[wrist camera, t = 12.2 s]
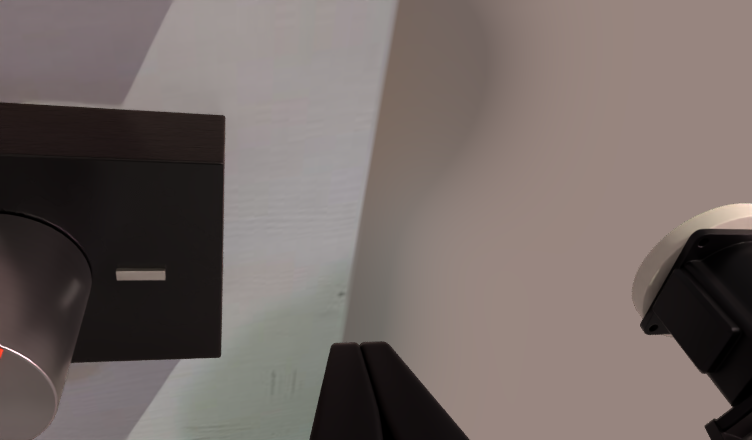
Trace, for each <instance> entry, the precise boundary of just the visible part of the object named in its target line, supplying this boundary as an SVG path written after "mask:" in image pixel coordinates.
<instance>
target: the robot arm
mask: <svg viewBox="0 0 752 440" xmlns="http://www.w3.org/2000/svg"><path fill="white" fill-rule="evenodd" d="M640 327H641V328H642V330H643V331H644V332H645V334H648V335H660V334H671V335H672V336H673V337H674V339H675V340H676V341H677V343H678V344H679V345H680V346H681V348H682V349H683V350H684V351H685V353H686V354H687V356H688V357H689V358H690V360H691V361H692V362H693V363H694V365H695V366H696V367H697V369H698V370H699V371H700V372H701V373H704V374H707V375H708V376H709V377H710V378H711V380H712V381H713V383H714V384H715V385H716V386H717V388H718V389H719V390H720V392H721V393H722V394H723V395H724V397H725V398H726V399H727V401H728V402H729V403H730V404H731V406H732V408H731V409H730V410H729V411H727V412H726V413H724V414H723V415H722V416H720V417H719V418H718V419H713V420H711V421H710V422H709V423H707V424H706V425H705V429H706V431H707V433H708V435H709V437H710V438H711V440H752V229H699V230H697V231H695V232H694V233H692V234H691V236H690V237H689V238H688V240H687V242H686V244H685V246H684V247H683V249H682V251H681V253H680V254H679V256H678V258H677V260H676V261H675V263H674V265H673V267H672V268H671V270H670V272H669V274H668V276H667V277H666V279H665V281H664V283H663V284H662V286H661V288H660V290H659V291H658V293H657V295H656V297H655V299H654V300H653V302H652V304H651V306H650V307H649V309H648V311H647V313H646V314H645V316H644V318H643V320H642V322H641V324H640ZM309 440H469V439H468V437H467V436H466V435H465V434H464V432H463V431H462V430H461V429H460V428H459V427H458V426H457V424H456V423H455V422H454V421H453V419H452V418H451V417H450V416H449V415H448V414H447V412H446V411H445V410H444V409H443V408H442V407H441V405H440V404H439V403H438V402H437V401H436V399H435V398H434V397H433V396H432V395H431V394H430V392H429V391H428V390H427V389H426V388H425V386H424V385H423V384H422V383H421V382H420V380H419V379H418V378H417V377H416V376H415V374H414V373H413V372H412V371H411V370H410V369H409V367H408V366H407V365H406V364H405V363H404V362H403V360H402V359H401V358H400V357H399V356H398V354H396V352H395V351H394V350H393V349H392V347H391V346H390V345H389V344H387V343H386V342H363V343H361V344H360V345H358V344H357V343H355V342H350V343H334V344H332V346H331V349H330V353H329V357H328V361H327V366H326V370H325V374H324V379H323V383H322V387H321V392H320V396H319V400H318V405H317V409H316V413H315V418H314V422H313V426H312V431H311V435H310V439H309Z"/></svg>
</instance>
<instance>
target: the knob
mask: <svg viewBox="0 0 752 440" xmlns="http://www.w3.org/2000/svg"><path fill="white" fill-rule="evenodd" d="M91 284H92V280H91V272H90V268H89V266H88V263H87V261H86V259H85V257H84V256H83V254H82V253H81V251H80V250H79V249H78V248H77V246H75V245H74V244H73V243H72V242H71V241H70V240H69V239H68V238H66V237H65V236H64V235H63V234H61V233H59V232H58V231H56V230H54V229H53V228H51V227H49V226H47V225H45V224H42V223H40V222H37V221H34V220H32V219H28V218H24V217H20V216H15V215H9V214H0V440H32V439H34V438H36V437H37V436H38V435H40V434H41V433H42V432H43V431H44V430H45V429H46V428H47V427H48V426H49V425H50V424H51V422H52V421H53V419H54V418H55V415H56V413H57V410H58V406H59V403H60V399H61V395H62V392H63V388H64V384H65V381H66V377H67V374H68V370H69V366H70V363H71V359H72V355H73V352H74V348H75V345H76V341H77V337H78V334H79V330H80V326H81V323H82V319H83V316H84V312H85V308H86V305H87V301H88V297H89V294H90V290H91Z"/></svg>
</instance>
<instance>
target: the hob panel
mask: <svg viewBox="0 0 752 440" xmlns="http://www.w3.org/2000/svg"><path fill="white" fill-rule="evenodd" d="M224 169H225V116H223V115H207V114H189V113H172V112H155V111H138V110H120V109H103V108H86V107H69V106H52V105H34V104H17V103H0V214H9V215H15V216H20V217H24V218H28V219H32V220H34V221H37V222H40V223H42V224H45V225H47V226H49V227H51V228H53V229H54V230H56V231H58V232H59V233H61V234H63V235H64V236H65V237H66V238H68V239H69V240H70V241H71V242H72V243H73V244H74V245H75V246H77V248H78V249H79V250H80V251H81V253H82V254H83V256H84V257H85V259H86V261H87V263H88V266H89V268H90V272H91V280H92V284H91V290H90V294H89V297H88V301H87V305H86V308H85V312H84V316H83V319H82V323H81V326H80V330H79V334H78V337H77V341H76V345H75V348H74V352H73V355H72V359H71V363H79V362H108V361H136V360H165V359H194V358H219V357H220V356H221V337H222V291H223V230H224Z"/></svg>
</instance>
